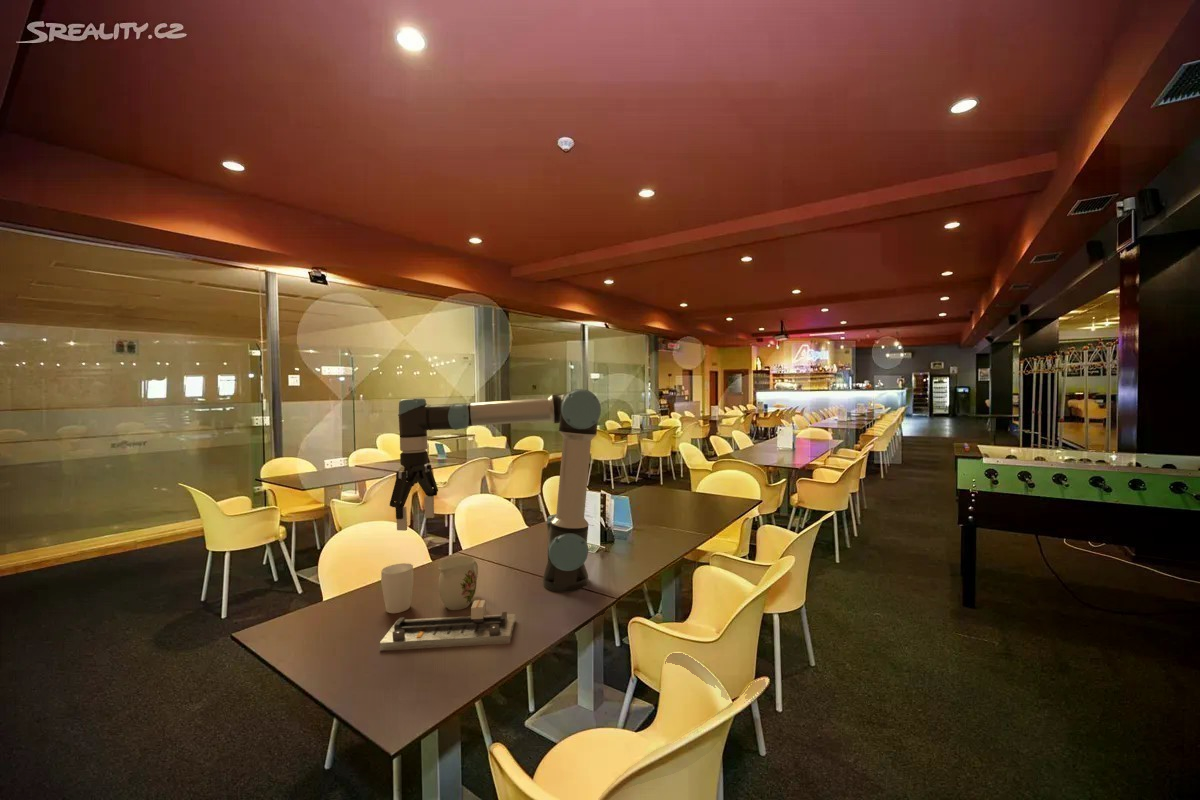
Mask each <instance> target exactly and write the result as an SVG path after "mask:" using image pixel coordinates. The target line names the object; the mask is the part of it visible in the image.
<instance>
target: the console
mask: <svg viewBox="0 0 1200 800" xmlns="http://www.w3.org/2000/svg"><path fill="white" fill-rule="evenodd" d="M515 624H516V614H515V613H508V612H507V611H502V612H501V614H486V615H485V614H484V622H480V623H474V620H473V619H471V615H469V616H468V615H467V616H449V617H448V616H447V617H428V618H410V619H407V618H405V616H404V617H403V616H401V617H399V618H398V619H397V620H396V621H395V622H394V623H393V625H392V626H391V627H390V629H389V630H388V632H387V633H386V634H385V635H384V637H383V638H382V639H381V640H380V642H379V652H382V651H399V650H402V651H403V650H417V649H418V650H419V649H433V648H435V649H436V648H452V647H453V648H454V647H469V646H470V647H471V646H486V645H488V646H489V645H507V644H511V641H512V640H511V639H512V637H513V632H514V628H515Z"/></svg>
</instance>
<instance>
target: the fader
mask: <svg viewBox="0 0 1200 800" xmlns="http://www.w3.org/2000/svg"><path fill="white" fill-rule="evenodd" d="M486 601H487V600H486V599H479V600H473V602H472V604H471V607H470V616H471V619H473V620H474V623H480V622H484V615H485V614H486V612H487V607H486V606H487V605H486V604H487V603H486Z"/></svg>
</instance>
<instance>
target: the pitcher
mask: <svg viewBox="0 0 1200 800" xmlns="http://www.w3.org/2000/svg"><path fill="white" fill-rule="evenodd" d="M438 563H439V565H438V567H437V569H438V571H440V574H439V577H438V592H439V596H440V600H441V602H442V604H443V605H444V606H445V607H446V609H448V610H450V611H461V610H464V609H466V608H467V607H469V606H470V604H471V603H472V601H473V600H474V597H475V593H476V590H477V580H478V575H479V566H478V563H477V561H476V560H475V558H474V557H471V556H469V555H468V556H466V555H465V556H464V555H460V556H452V557H448V558H445V559H443V560H441V561H439V562H438Z"/></svg>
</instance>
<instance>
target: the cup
mask: <svg viewBox="0 0 1200 800" xmlns="http://www.w3.org/2000/svg"><path fill="white" fill-rule="evenodd" d="M414 577H415V576H414V565H413V564H411V563H406V562H405V563H396V564H392V565H388V566H385V567H384V568H382V569H381V575H380V578H381V579H380V583H381V589H382V594H383V595H382V596H383V601H384V606H385V612H387V613H389V614H399V613H402V612H405V611H407V610H409V609H410V608H411V603H412V595H413V588H414V587H413V586H414V585H413V584H414V579H415V578H414Z"/></svg>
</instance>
